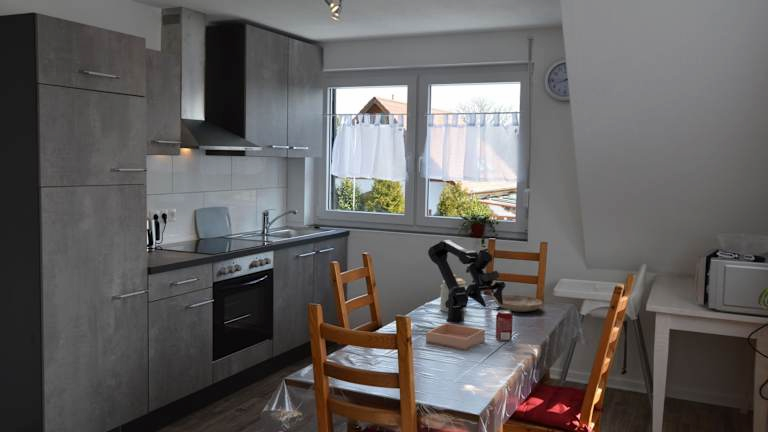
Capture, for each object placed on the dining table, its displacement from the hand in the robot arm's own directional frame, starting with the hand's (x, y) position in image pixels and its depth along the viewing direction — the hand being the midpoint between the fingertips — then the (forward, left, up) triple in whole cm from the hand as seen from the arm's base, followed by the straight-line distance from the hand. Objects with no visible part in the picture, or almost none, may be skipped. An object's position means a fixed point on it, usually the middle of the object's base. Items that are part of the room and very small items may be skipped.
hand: (493, 305), depth 293 cm
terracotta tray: (-9, -18, -13) cm, 24 cm away
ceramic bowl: (-9, +53, -13) cm, 55 cm away
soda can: (+6, -3, -13) cm, 15 cm away
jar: (-34, +31, -13) cm, 47 cm away
